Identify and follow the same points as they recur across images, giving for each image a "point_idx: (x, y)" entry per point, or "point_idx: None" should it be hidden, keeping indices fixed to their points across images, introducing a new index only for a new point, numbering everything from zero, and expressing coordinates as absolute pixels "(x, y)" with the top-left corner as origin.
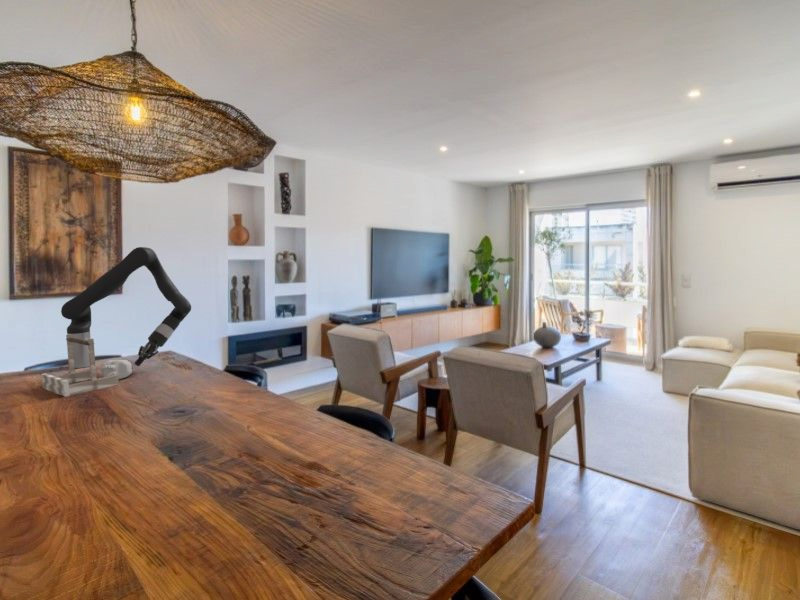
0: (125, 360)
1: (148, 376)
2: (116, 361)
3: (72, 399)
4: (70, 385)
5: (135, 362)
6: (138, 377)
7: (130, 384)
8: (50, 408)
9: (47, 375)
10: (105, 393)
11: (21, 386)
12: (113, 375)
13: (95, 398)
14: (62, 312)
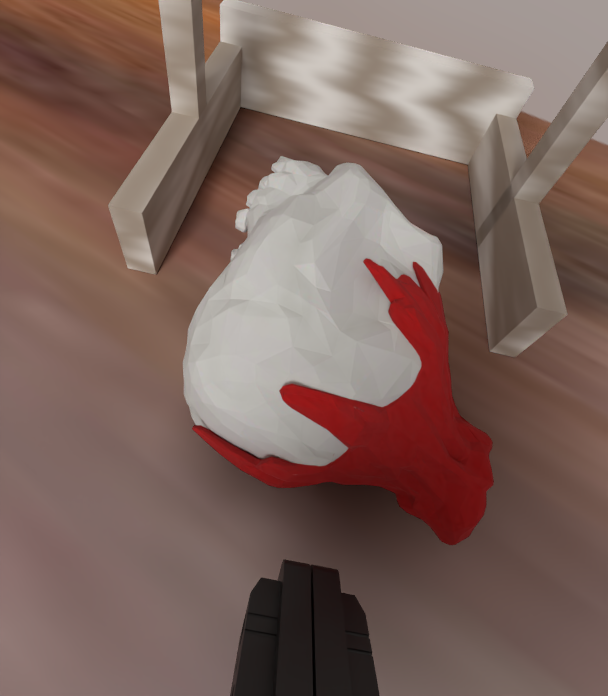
0: (271, 329)
1: (28, 559)
2: (274, 211)
3: (147, 73)
4: (218, 45)
5: (313, 575)
6: (130, 477)
7: (17, 285)
8: (128, 16)
9: (464, 63)
10: (46, 134)
11: (600, 166)
12: (146, 192)
13: (31, 84)
14: None
